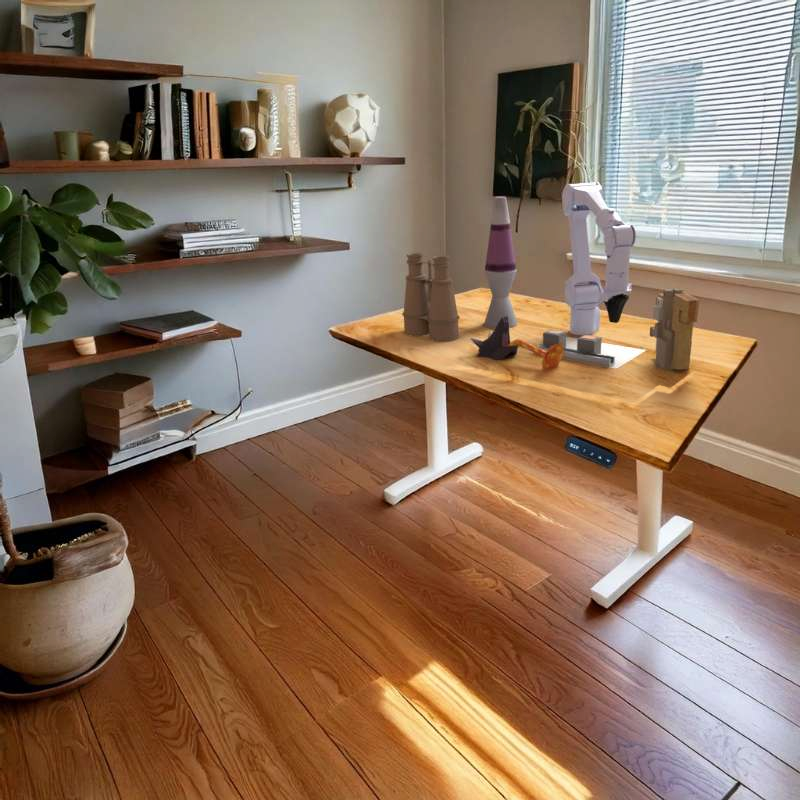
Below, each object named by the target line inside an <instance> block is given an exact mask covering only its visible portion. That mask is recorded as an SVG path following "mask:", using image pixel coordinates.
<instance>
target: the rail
mask: <svg viewBox="0 0 800 800" xmlns="http://www.w3.org/2000/svg"><path fill="white" fill-rule="evenodd" d="M535 346H536V347H538V348H541V349H543V350H545V351H548V350H549V348H550V347H551V346H552V345H547V344H543V343H539V345H535ZM563 349H564V355H563V357H562V358H563V359H564V360H568V359H569V361H573V360H574V362H578V361H579V362H578V363H583V362H584V363H585V364H589V363H590V364H589V365H594V364H595V366H599V365H600V366H599V367H604V366H605V367H606V368H610V366H612V365H614V364H615V357H614V356H608V355H603V354H597V353H591V352H586V351H580V350H575V349H569V348H563Z"/></svg>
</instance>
